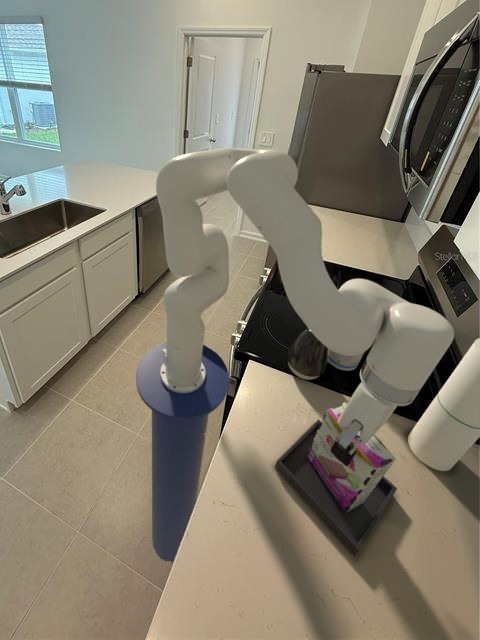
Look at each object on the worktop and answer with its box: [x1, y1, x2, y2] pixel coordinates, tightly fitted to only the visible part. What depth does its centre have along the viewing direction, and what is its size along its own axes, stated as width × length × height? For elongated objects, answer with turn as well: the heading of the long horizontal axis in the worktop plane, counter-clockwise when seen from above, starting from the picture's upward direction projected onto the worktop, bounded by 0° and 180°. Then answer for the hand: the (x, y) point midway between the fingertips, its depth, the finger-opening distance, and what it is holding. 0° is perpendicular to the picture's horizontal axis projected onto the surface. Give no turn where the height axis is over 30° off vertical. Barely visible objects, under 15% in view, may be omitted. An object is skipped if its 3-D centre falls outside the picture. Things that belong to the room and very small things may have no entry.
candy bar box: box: [306, 401, 397, 513], centre depth 58 cm, size 11×5×16 cm, turn 23°
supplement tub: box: [327, 348, 365, 372], centre depth 87 cm, size 10×10×15 cm
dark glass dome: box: [286, 327, 328, 381], centre depth 82 cm, size 10×10×15 cm
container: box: [407, 337, 480, 472], centre depth 62 cm, size 9×9×30 cm
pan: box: [274, 419, 398, 557], centre depth 62 cm, size 17×15×3 cm
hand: (353, 441), depth 55 cm, fingers open, 9 cm apart
